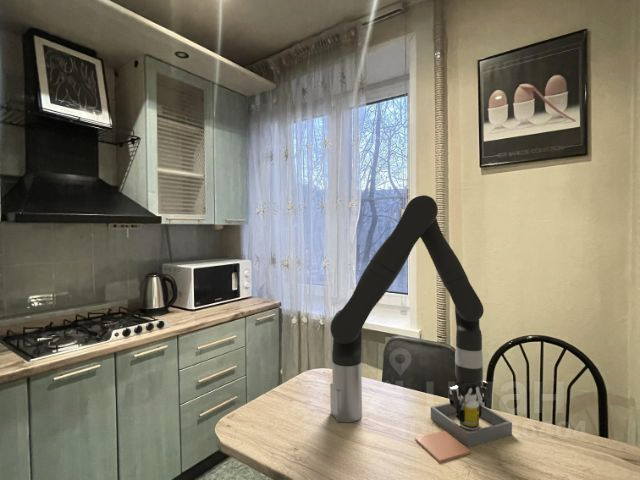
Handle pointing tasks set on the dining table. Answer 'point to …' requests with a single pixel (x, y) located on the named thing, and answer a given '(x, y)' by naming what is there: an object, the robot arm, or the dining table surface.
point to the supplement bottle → (471, 413)
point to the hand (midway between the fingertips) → (468, 418)
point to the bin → (475, 437)
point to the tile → (442, 446)
